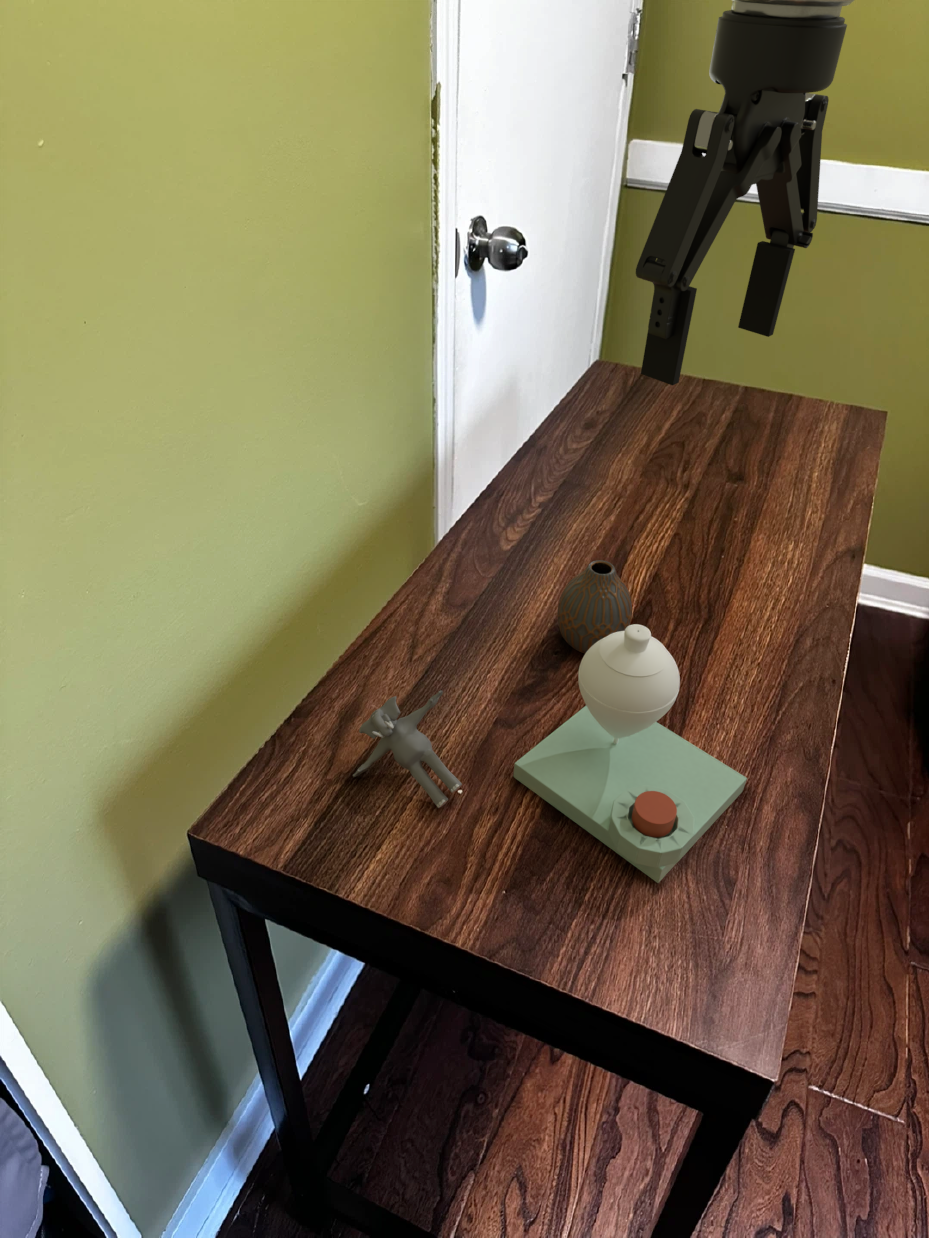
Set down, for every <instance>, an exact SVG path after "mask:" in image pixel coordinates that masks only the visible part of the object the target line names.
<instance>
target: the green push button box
mask: <svg viewBox="0 0 929 1238" xmlns="http://www.w3.org/2000/svg"><path fill="white" fill-rule="evenodd" d="M613 741H614V737H613V736H611V735H610V734H609V733H608V732H607V731H606V730H605V729H604V728H603V727H602V726H601V725H600V724H599V723H598V722H597V721H596V719H595V718H594V717H593V716H592V714H591V713H590V711H589V709H588V707H587V706H586V705H585V706H583V707H582V708H581V709H580V710H578V711H577V712H575V714H573V715H572V716H571V717H569V718H568V719H567V720H566V721H565V722H563V723H562V724H561V725H560V726H558V728H556V729H555V730H554V731H553V732H551V733H550V734H549V735H547V736H546V737H545V738H544V739H542V740H541V741H540V742H538V744H536V745H535V746H534V747H532V749H529V751H528V752H526V753H525V754H524V755H522V756H521V757H520V758H519V759H518V760H517V761H515V762H514V764H513V776H512V777H513V778H514V779H515V780H516V781H518V782H520V783H521V784H522V785H524V786H525V787H526V788H528V789H529V790H530V791H532V792H533V793H534V794H536V795H537V796H538V797H540V798H541V799H543V800H544V801H545V802H547V803H548V804H549V805H550V806H551V807H553V808H555V809H556V810H557V811H559V812H561V814H563V815H565V816H566V817H567V818H568V819H569V820H571V821H572V822H574V823H576V825H578V826H579V827H581V828H582V829H583V830H585V831H586V832H587V833H588V834H590V835H592V837H594V838H596V839H597V840H598V841H600V842H601V843H603V844H604V846H607V847H608V848H610V849H611V850H612V851H613V852H615V854H617V855H619V856H620V857H621V858H623V859H624V860H625V861H626V862H628V863H630V864H631V865H632V866H634V867H635V868H636V869H638V870H639V871H641V872H642V873H643V874H645V875H646V876H647V877H649V878H650V879H651V880H653V881H654V882H655V883H657V884H659V883H660V882H661V881H662V880H663V879H664V878H665V877H666V876H667V874H668V873H669V872H670V871H671V870H672V869H673V868H674V867H675V866H676V865H677V864H678V863H679V862H680V860H682V858H683V857H684V856H685V855H686V854H687V853H688V852H689V850H691V848H693V846H694V845H695V844H696V843H697V842H698V841H699V840H700V838H702V836H703V835H704V834H705V833H706V832H707V831H708V830H709V829H710V828H711V826H713V825H714V823H715V822H716V821H717V820H718V819H719V818H720V817H721V816H722V815H723V814H724V813H725V811H727V809H728V808H729V807H730V806H731V805H732V803H734V802H735V800H736V799H737V798H738V797H739V796H740V795H741V794H742V793H743V791H744V789H745V785H746V783H747V780H748V777H746V776H745V775H743V774H741V773H740V772H738V771H737V770H735V769H734V768H732V767H731V766H729V765H727V764H725V763H724V762H722V761H721V760H719V759H717V758H716V757H714V756H713V755H711V754H709V753H707V752H706V751H704V750H703V749H701V748H699V747H698V746H696V745H695V744H693V743H691V742H689V741H688V740H686V739H685V738H683V737H682V736H680V735H678V734H676V733H675V732H674V731H672V730H671V729H669V728H668V727H665V726H664V725H662V724H660V723H659V722H658V721H657V722H655V723H654V724H653V725H651V726H650V727H648V728H646V729H644V730H642V731H640V732H638V733H635V734H633V735H630V736H627V737H624V738H619V740H618V744H614V743H613ZM647 791H657V792H661V793H663V794H665V795H667V796H668V797H670V798H671V799H672V800H673V802H674V803H675V805H676V808H677V814H676V818H675V821H674V825H673V828H672V830H671V831H670V832H669V833H668V834H667V835H665V836H663V837H649V836H646V835H644V834H642V833H641V832H639V831H638V830H637V829H636V828H635V826H634V825H633V822H632V812H633V808H634V804H635V800H636V798H637V797H638V796H639V795H640V794H641V793H644V792H647Z"/></svg>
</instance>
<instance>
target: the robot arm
mask: <svg viewBox="0 0 929 1238" xmlns="http://www.w3.org/2000/svg"><path fill="white" fill-rule="evenodd" d="M854 1H855V0H732V2H731V9H729V10H724V11H723V12H722V16H718V19H717V25H716V30H715V36H714V40H713V41H714V42H713V46H712V47H713V48H712V52H711V53H712V55H711V59H710V64H709V70H708V74H709V78H710V79H711V81H712V82H713V83H714V84H717V85H721V86H722V87H723V89H724V95H723V98H722V102H721V105H720V108H719V110H718V111H713V110H712V111H711V110H706V109H701V108H700V109H699V108H694V109H693V110H692V111H691V113H690V114H689V118H688V121H687V125H686V129H685V135H684V138H683V143H682V148H681V152H680V154H679V156H678V159H677V161H676V165H675V167H674V169H673V172H672V175H671V177H670V179H669V182H668V185H667V188H666V190H665V193H664V195H663V198H662V201H661V203H660V206H659V208H658V210H657V213H656V216H655V219H654V221H653V223H652V226H651V229H650V231H649V233H648V236H647V239H646V240H645V241H646V242H645V243H644V247H643V249H642V252H641V254H640V257H639V259H638V261H637V264H636V267H635V276H636V278H638V279H641V280H643V281H647V282H650V283H652V285H653V296H652V300H651V301H652V302H651V307H650V313H649V320H648V325H647V334H646V338H645V345H644V346H645V347H644V352H643V358H642V364H641V370H640V375H642V376H645V377H649V378H651V379H653V380H656V381H659V382H661V383H665V384H667V385H670V386H675V385H677V384H679V383H680V377H681V372H682V369H683V368H682V367H683V363H684V359H685V357H684V356H685V352H686V347H687V342H688V337H689V332H690V331H689V330H690V328H691V327H690V326H691V321H692V316H693V311H694V308H695V300H696V297H697V291H698V288H697V287H694V286H690V285H691V283H692V282H693V280H694V278H695V276H696V274H697V272H698V271H699V269H700V267H701V265H702V263H703V262H704V260H705V258H706V257H707V254H708V252H709V251H710V249H711V247H712V245H713V243H714V242H715V240H716V237H717V235H718V234H719V232H720V230H721V228H722V226H723V225H724V223H725V221H726V219H727V217H728V216H729V214H730V212H731V210H732V208H733V206H734V205H735V202H736V201H737V199H739V198H742V197H745V196H746V195H747V194H748V192H749V191H750V189H751V187H752V186H753V185H755V186H756V192H757V197H758V202H759V207H760V213H761V218H762V223H763V224H762V225H763V229H764V235H765V238H766V239H767V240H769V241H766V240H765V241H764V240H761V241H758V242H757V244H756V249H755V253H754V257H753V261H752V266H751V269H750V274H749V278H748V282H747V288H746V291H745V295H744V300H743V304H742V309H741V312H740V317H739V322H738V326H737V328H738V329H740V330H744V331H746V332H747V331H748V332H751V333H754V334H757V335H760V336H764V337H768V338H770V337H771V336H773V335H774V333H775V330H776V329H775V328H776V325H777V321H778V317H779V313H780V310H781V306H782V301H783V298H784V294H785V291H786V286H787V283H788V278H789V274H790V271H791V266H792V263H793V259H794V255H795V252H796V248H794V247H798V248H802V249H807V248H809V247H810V245H811V243H812V242H813V241H812V240H813V237H814V233H813V231H814V229H815V228H816V227H817V226H816V225H817V221H818V211H819V210H818V209H819V208H818V207H819V193H820V190H819V189H820V176H821V175H820V174H821V157H822V142H823V141H822V140H823V129H824V125H825V120H826V116H827V111H828V106H829V96H828V95H824V94H818V92H821V91H824V90H827V88H829V87H830V86H831V85H832V84H833V81H834V79H835V74H836V71H837V67H838V62H839V60H840V55H841V51H842V47H843V43H844V38H845V36H846V31H847V27H848V24H847V23H845V21H846V18H845V17H843V16H841V12H842V8H843V7H846V6H850V5H851V4H852V3H854ZM802 210H803V211H802Z"/></svg>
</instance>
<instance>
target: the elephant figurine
mask: <svg viewBox="0 0 929 1238" xmlns="http://www.w3.org/2000/svg"><path fill="white" fill-rule="evenodd" d="M443 694H444V692H443V690H438V691H437V693H436V694H434V695H431V697H430V698H428V700H427V702H426V704H424V705H423V706H422V707H420V708H418V709H416V710H414V711H413V712H411V713H410V714H407V715H406V716H403V717H400V718H398V717H399V715H401V711H400V708H399V706H398V703H397V695H395V696H392V697H390V698H389V699H387V700H386V701H385V702H384V704H383V705H381V707H379V708H377V709H375V710H374V711H373V712H372V713H371V714H370V716H369V718H368V719H367V720H365V721H364V722H363V723H362V724H361V726H360V727H359V730H358V733H360V734H365V735H367V736H368V737H370V738H371V739H372V740H375V738H377V737H379V738H380V739H379V742H378V743H377V745H376V746H375V748H374V750H373V751H372V753H370V756H368V758H367V760H366V761H365V762H364V763H362V764H361V765H360V766H359V767H358V768H357V770H356V771H355V772H354V773H353V774H352V777H353V778H357V777H359V776H360V775H361V774H362V773H365V772H367V771H368V770H369V769H370V768H371V767H372V766H373V764H374V763H376V762H377V761H379V760H380V759H382V758H383V757H384V756H385V755H386V754H387V753H388V752H389V751H392V753H393V758H394V761H395V762H396V763H397V764H398V765H399V766H400V767H402V768H403V769H405V770H407V771H409V773H410V774H411V776H412V778H413V779H414V780H415V781H416V782H417V783H418V784H419V786H421V788H422V789H423V790H424V791H425V792H426V794H427V795H428V797H429V798H430V799H431V801H432V802H433V804H434V805H435V806H436V807H437V809H440V808H441V807H443V806H444V805H445V804H447V802H448V801H449V798H448V797H447V796H446V795H445V794H444V793H443V791H442V790H441V789H440V787H439V786H438V785H437V783H436V782H435V781H434V780H433V778H432V777H431V775H429V774H428V772H427V771H426V770H425V768H424V767H423V763H426V765H427V767H429V768H430V769H431V770H432V772H434V774H435V775H436V776H437V777H438V778H439V779H440V781H441V782H442V783H443V784H444V785H445V786H446V788H447V789H448V790H449V792H450V793H451V794H453V793H455V792H457V791H458V790H459V789H460V788H461V787H462V786H463V783H462V782H461V781H460V780H459V779H458V778H457V776H455V775H454V774H453V773H452V772H451V771H450V770H449V769H448V768H447V766H446V765H445V763H443V761H442V760H441V758H440V757H439V756H438V755H437V753H436V752H435V751H434V750H433V744H432V741H431V740H430V739H429V738H428V736H427V735H426V734H424V733H423V732H422V731H419V730H418V728H417V726H418V724H420V722H421V721H422V719H423V718H424V716H425V715H426V714H427V713H428V711H430V710H431V709H433V708H434V707H435V706H436V705H437V704H438V702H439V700H440V698H441V697H442V696H443Z"/></svg>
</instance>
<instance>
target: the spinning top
mask: <svg viewBox="0 0 929 1238" xmlns="http://www.w3.org/2000/svg"><path fill="white" fill-rule="evenodd" d="M577 675H578V677H577V678H578V679H577V680H578V689H579V692H580V695H581V697H582V699H583V702H584V704H585V706H587V707H588V709H589V711H590V713H591V714H592V716H593V717H594V718H595V719H596V721H597V722H598V723H599V724H600V725H601V726H602V727H603V728H604V729H605V730H606V731H607V732H608V733H609V734H610V735H611V736H613V737H614V741H613V743H614V744H618V740H619V738H624V737H627V736H630V735H633V734H635V733H638V732H640V731H642V730H644V729H646V728H648V727H650V726H651V725H653V724H654V723H655V722H657V723H658V721H660V719H662V718H663V717H664V716H665V715H666V714H667V713H669V711H670V709H672V707H673V705H674V704H675V702H676V700H677V697H678V695H679V691H680V687H681V686H680V685H681V677H680V670H679V667H678V665H677V662H676V660H675V658H674V657H673V655H672V654H671V653H670V651H668V649H667V648H666V647H665V645H664V644H663V642H661V641H660V640H658V639H657V638H656V637H653V636H652V633H651V630H650V629H649V628H648V627H647V626H645V625H642V624H638V623H635V624H633V623H632V624H630V625H629V626H628V627H627V628H626V629H625V631H619V632H615V633H612V634H610V635H608V636H607V637H604V638H603V639H601V640H599V641H598V642H596V643H595V644H594V645H593V646H591V647H590V648H589V650H588V651H587V652H586V654H585V653H584V655H583V657H582V659H581V661H580V663H579V667H578V673H577Z"/></svg>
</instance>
